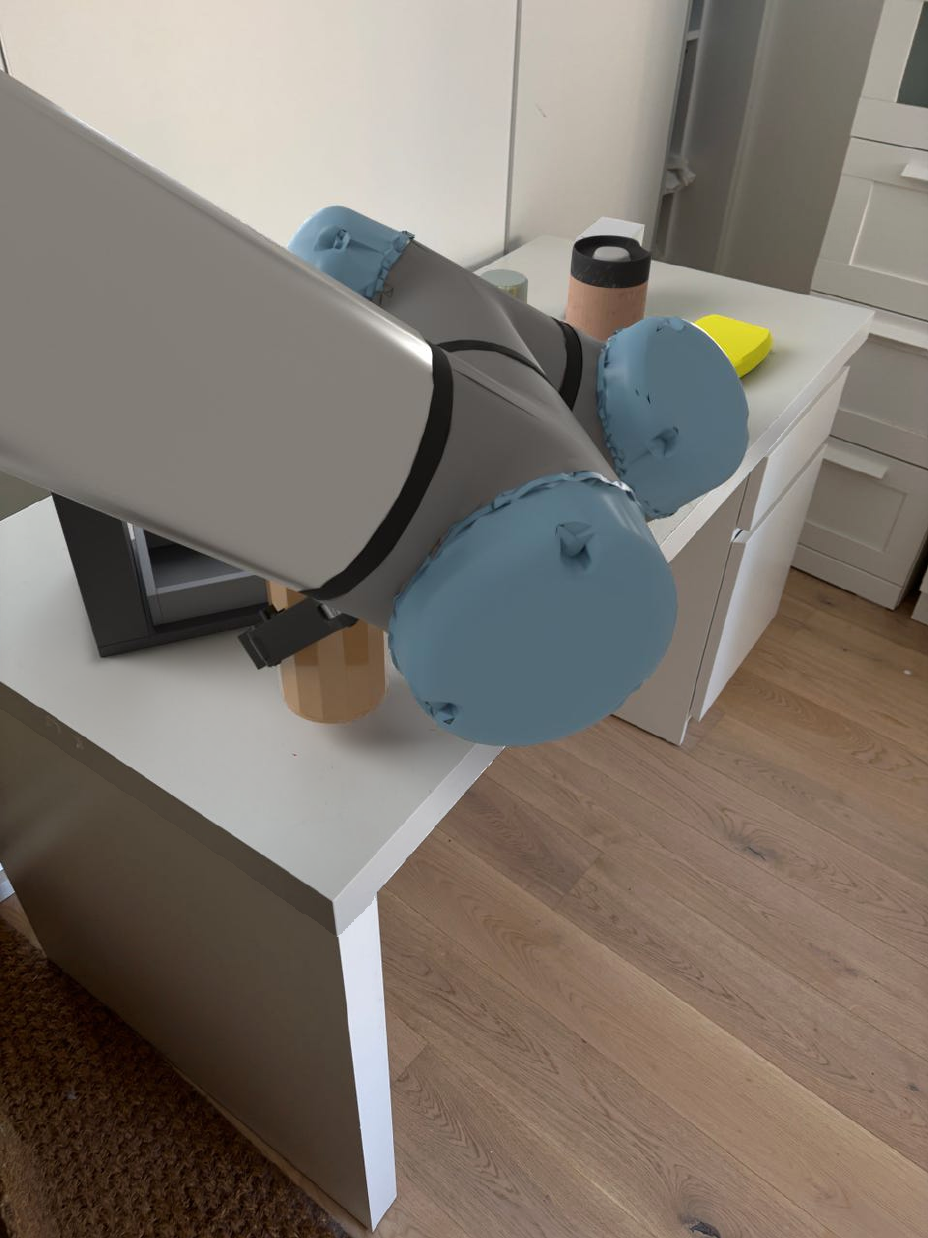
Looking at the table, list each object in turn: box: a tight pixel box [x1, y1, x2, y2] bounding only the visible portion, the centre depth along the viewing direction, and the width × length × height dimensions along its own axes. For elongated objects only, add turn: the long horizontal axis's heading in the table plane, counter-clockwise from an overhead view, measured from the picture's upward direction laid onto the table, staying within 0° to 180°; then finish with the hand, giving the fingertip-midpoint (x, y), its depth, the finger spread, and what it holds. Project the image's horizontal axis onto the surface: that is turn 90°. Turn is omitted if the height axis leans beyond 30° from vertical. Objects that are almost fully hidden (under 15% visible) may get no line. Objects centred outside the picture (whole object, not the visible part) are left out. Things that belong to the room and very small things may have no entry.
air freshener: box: [478, 268, 529, 304], centre depth 115 cm, size 11×8×10 cm
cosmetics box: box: [574, 216, 645, 247], centre depth 127 cm, size 10×6×10 cm, turn 155°
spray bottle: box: [692, 313, 774, 379], centre depth 115 cm, size 3×11×24 cm
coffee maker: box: [50, 491, 269, 658], centre depth 75 cm, size 14×16×24 cm
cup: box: [266, 579, 390, 725], centre depth 66 cm, size 8×8×12 cm
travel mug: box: [564, 235, 653, 341], centre depth 97 cm, size 8×8×20 cm
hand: (298, 621), depth 68 cm, fingers closed on cup, 8 cm apart
